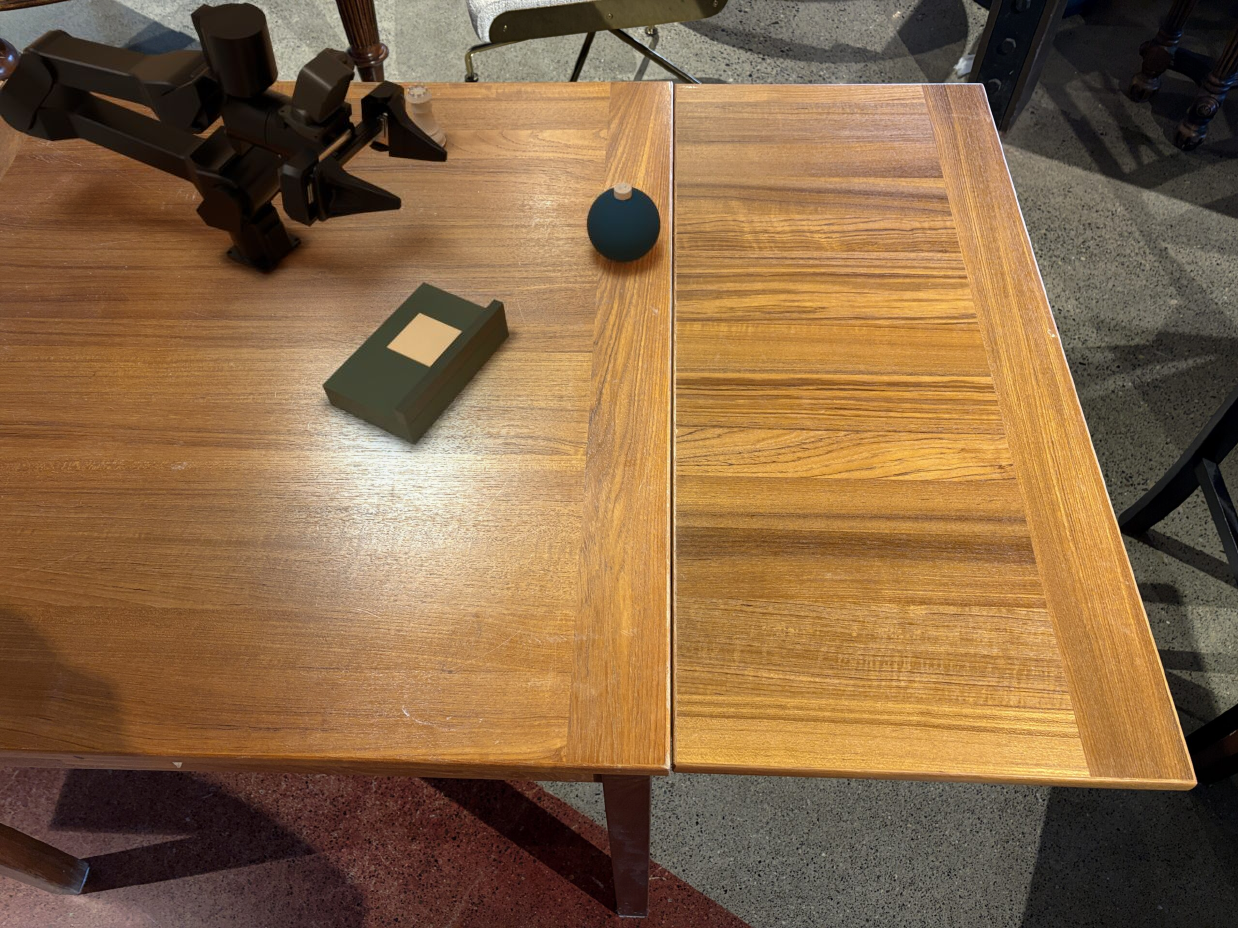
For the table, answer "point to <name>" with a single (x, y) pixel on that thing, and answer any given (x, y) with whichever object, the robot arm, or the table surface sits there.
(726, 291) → the table surface
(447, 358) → the green platform
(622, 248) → the christmas ornament
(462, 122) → the table surface
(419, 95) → the rook chess piece
